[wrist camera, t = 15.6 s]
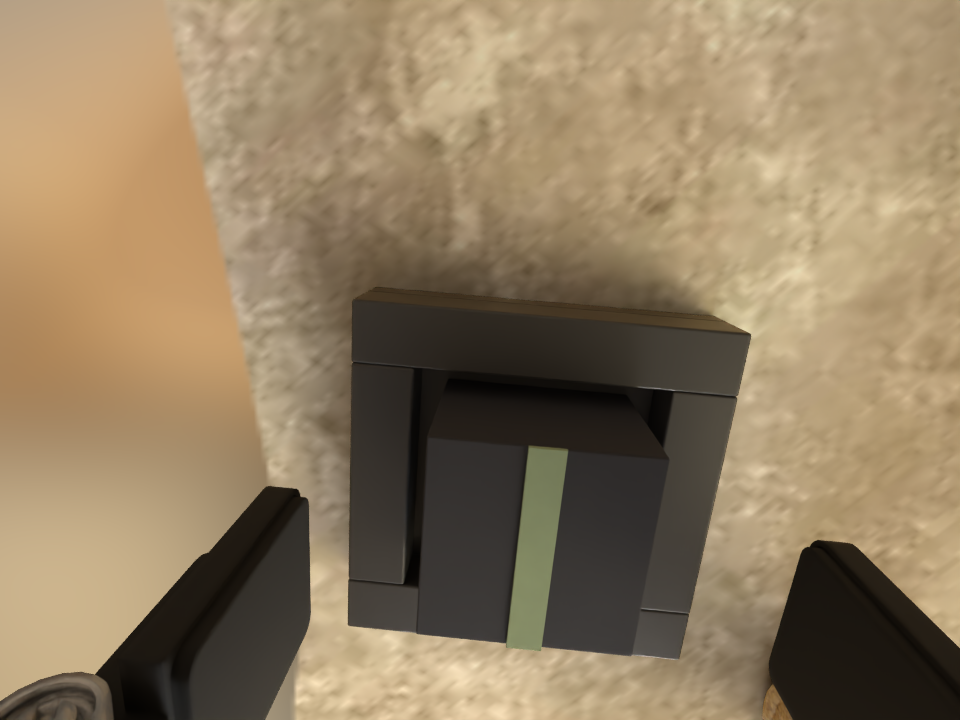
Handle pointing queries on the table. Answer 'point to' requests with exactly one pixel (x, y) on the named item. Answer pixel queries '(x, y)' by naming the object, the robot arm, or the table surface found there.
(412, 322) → the socket pad
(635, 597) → the top pad
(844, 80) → the table surface
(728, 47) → the table surface
